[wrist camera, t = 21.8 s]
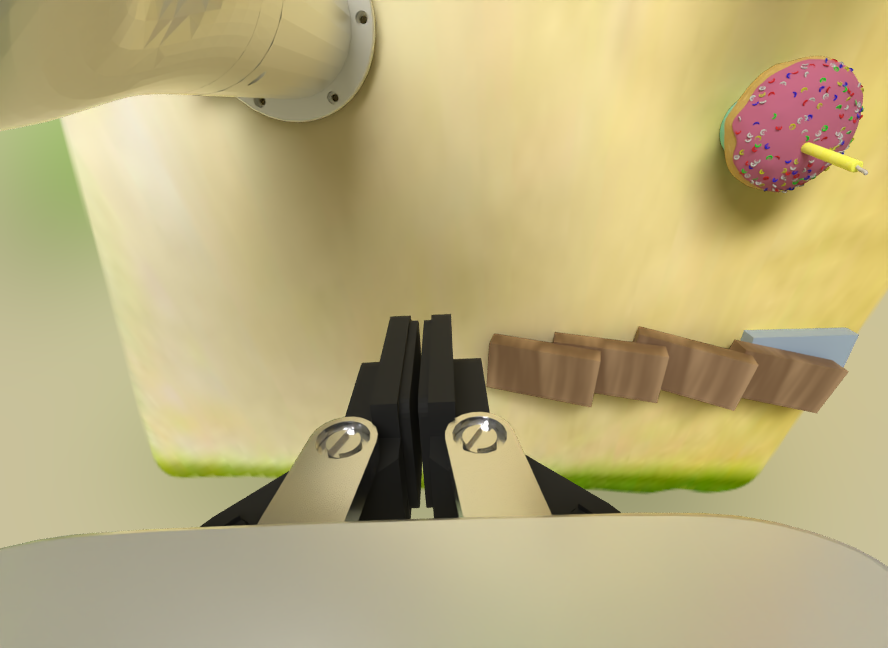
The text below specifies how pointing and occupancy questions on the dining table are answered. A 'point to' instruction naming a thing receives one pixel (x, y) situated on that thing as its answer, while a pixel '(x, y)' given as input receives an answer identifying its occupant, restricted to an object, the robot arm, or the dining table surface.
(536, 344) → the domino
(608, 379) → the domino
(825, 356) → the domino
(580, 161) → the dining table surface
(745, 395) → the domino
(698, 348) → the domino
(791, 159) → the cupcake
